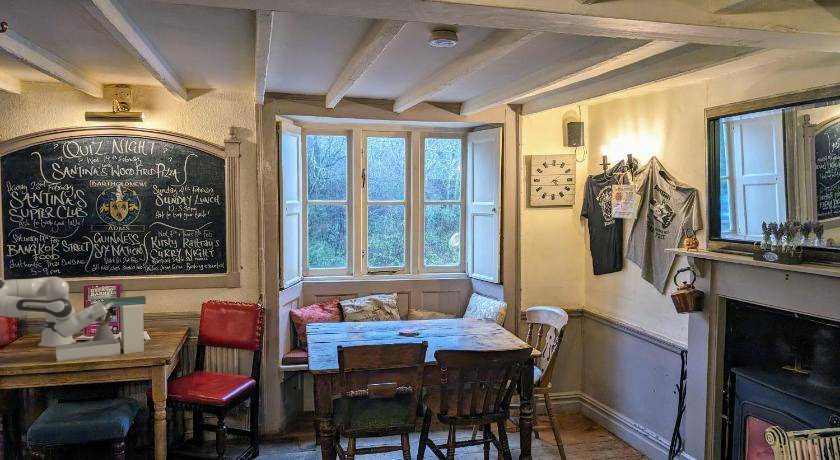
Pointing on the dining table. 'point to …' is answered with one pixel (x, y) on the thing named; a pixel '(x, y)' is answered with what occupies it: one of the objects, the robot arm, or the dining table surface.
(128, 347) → the tall white pillar
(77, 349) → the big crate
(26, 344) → the dining table surface
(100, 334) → the coffee pot
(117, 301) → the teal rectangular bar
